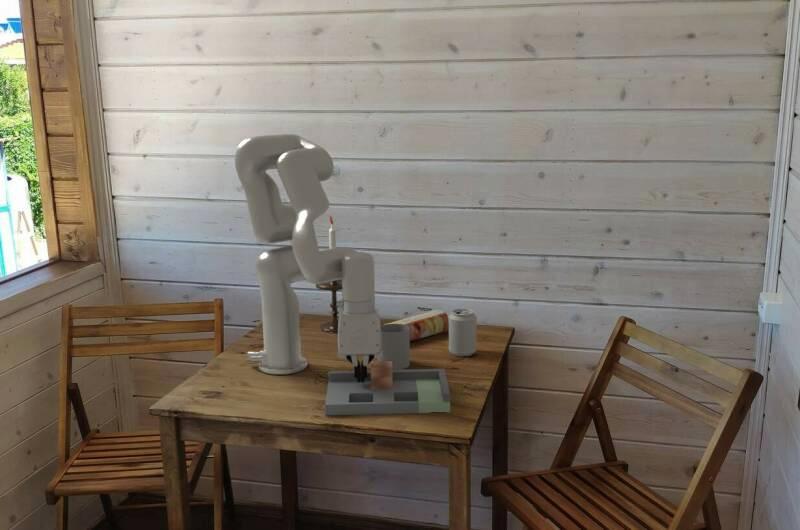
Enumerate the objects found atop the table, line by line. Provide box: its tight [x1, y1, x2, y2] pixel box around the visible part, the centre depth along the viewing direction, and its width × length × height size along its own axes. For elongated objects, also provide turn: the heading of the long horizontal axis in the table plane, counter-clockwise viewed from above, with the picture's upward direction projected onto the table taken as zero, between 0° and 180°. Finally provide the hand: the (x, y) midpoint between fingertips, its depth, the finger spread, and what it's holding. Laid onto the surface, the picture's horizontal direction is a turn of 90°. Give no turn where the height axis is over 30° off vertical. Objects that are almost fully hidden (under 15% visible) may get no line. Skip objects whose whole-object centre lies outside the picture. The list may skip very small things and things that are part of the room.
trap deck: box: [324, 368, 451, 416], centre depth 189 cm, size 28×16×4 cm, turn 92°
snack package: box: [383, 309, 449, 342], centre depth 235 cm, size 21×7×7 cm, turn 129°
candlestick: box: [315, 215, 342, 334], centre depth 242 cm, size 11×11×35 cm
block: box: [370, 360, 393, 389], centre depth 192 cm, size 5×5×5 cm
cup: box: [377, 323, 411, 370], centre depth 213 cm, size 8×8×10 cm
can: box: [448, 308, 478, 358], centre depth 221 cm, size 8×8×12 cm
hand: (361, 380), depth 192 cm, fingers closed
